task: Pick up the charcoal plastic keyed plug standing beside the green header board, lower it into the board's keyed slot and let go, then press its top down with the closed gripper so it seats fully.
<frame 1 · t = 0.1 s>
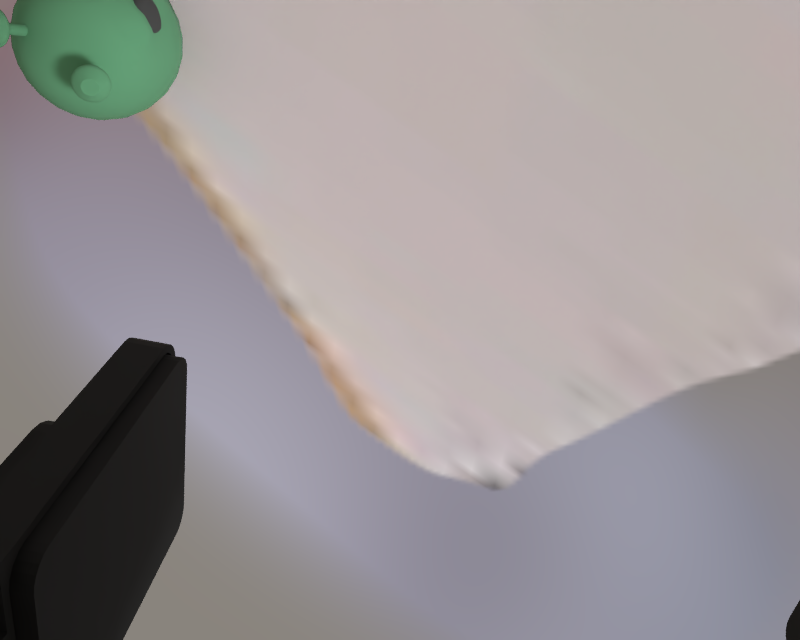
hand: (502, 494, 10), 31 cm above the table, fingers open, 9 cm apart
alien toy: (142, 23, 38), on the table
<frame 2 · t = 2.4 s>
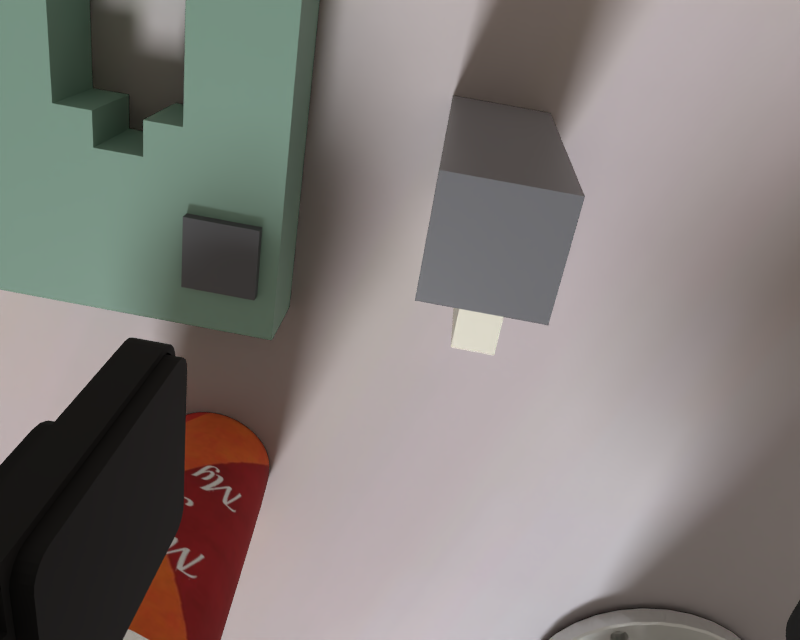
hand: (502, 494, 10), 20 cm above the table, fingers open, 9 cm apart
paper cup: (213, 457, 36), on the table
keyed plug: (491, 152, 28), on the table
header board: (151, 90, 28), on the table
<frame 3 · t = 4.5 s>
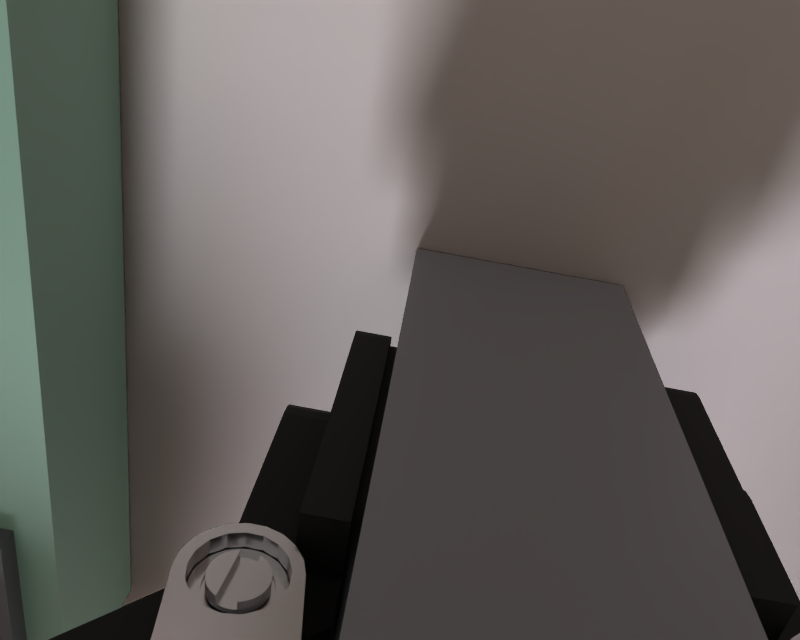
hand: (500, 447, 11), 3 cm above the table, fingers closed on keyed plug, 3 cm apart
keyed plug: (497, 355, 14), on the table, touching gripper
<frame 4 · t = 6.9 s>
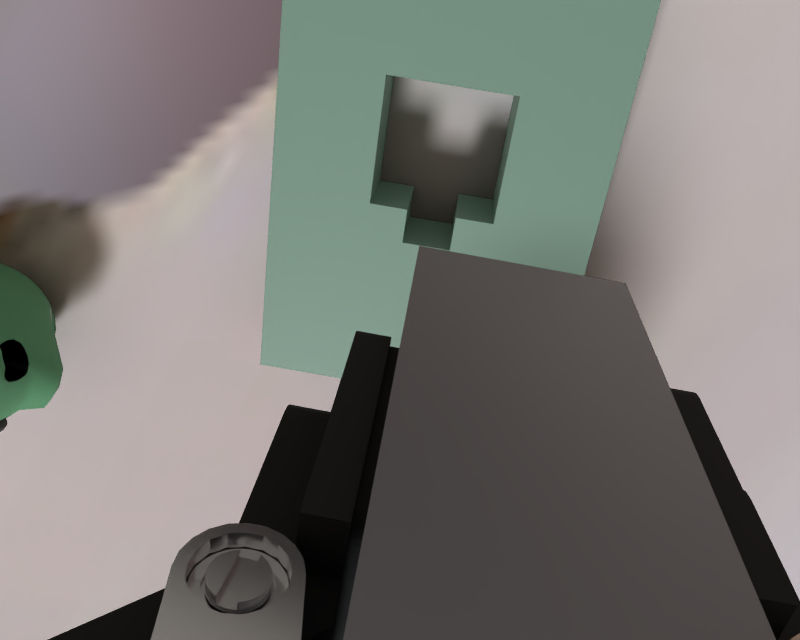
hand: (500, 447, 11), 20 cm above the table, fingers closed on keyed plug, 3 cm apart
alien toy: (25, 303, 34), on the table
keyed plug: (499, 353, 14), point 17 cm above the table, touching gripper
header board: (437, 182, 30), on the table
when the fingers open (4 cm above the table, at t = 9.6 s): keyed plug drops 1 cm, resting in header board.
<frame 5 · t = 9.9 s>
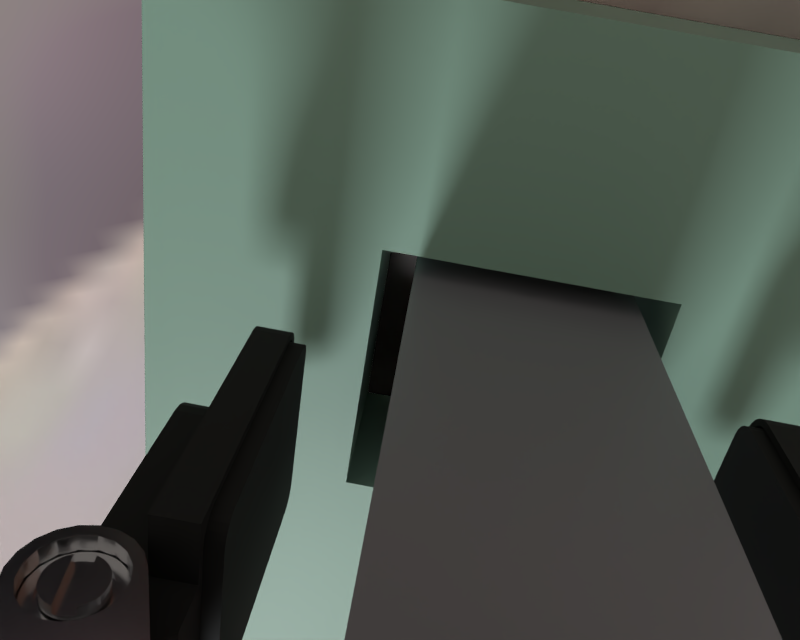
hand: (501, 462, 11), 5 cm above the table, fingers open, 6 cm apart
keyed plug: (498, 312, 15), resting in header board
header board: (475, 399, 16), on the table
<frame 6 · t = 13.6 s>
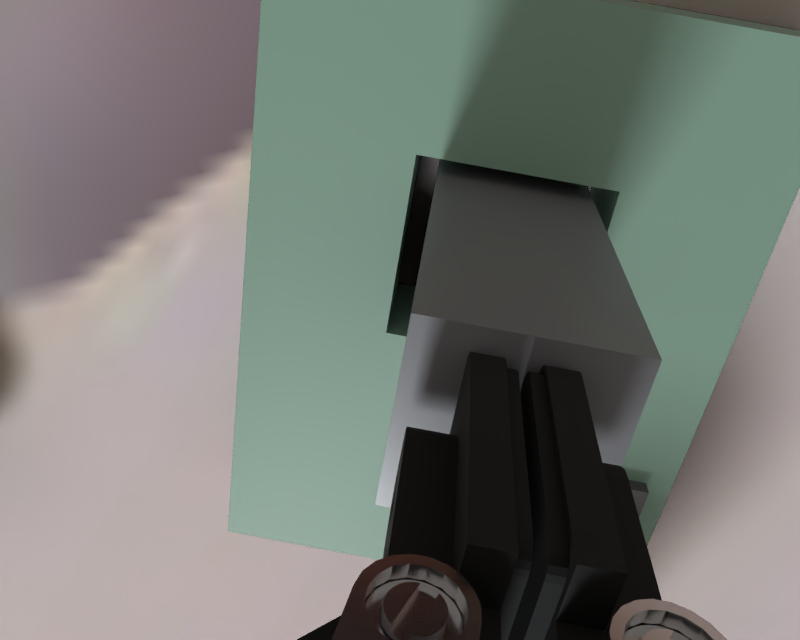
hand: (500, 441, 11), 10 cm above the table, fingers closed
keyed plug: (495, 218, 20), resting in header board, touching gripper
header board: (478, 288, 21), on the table
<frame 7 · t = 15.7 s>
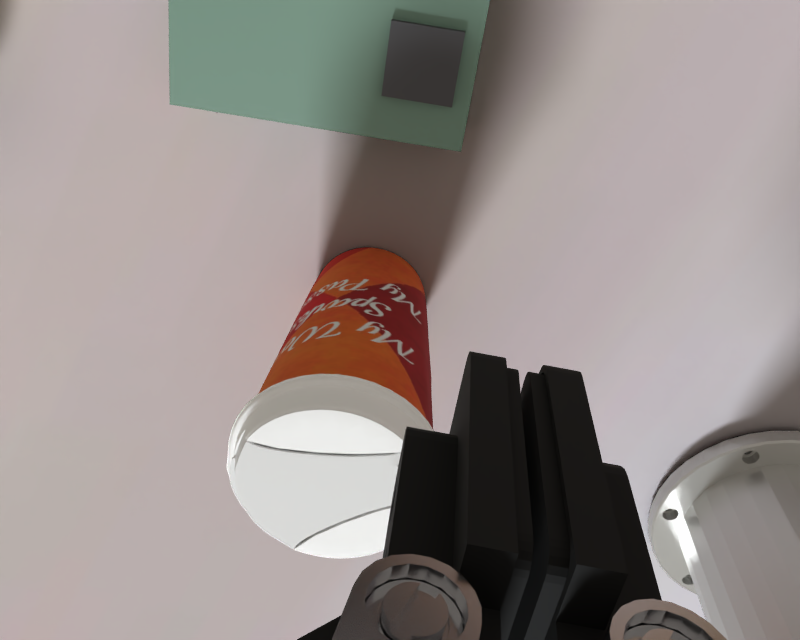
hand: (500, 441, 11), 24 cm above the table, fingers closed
paper cup: (369, 295, 37), on the table
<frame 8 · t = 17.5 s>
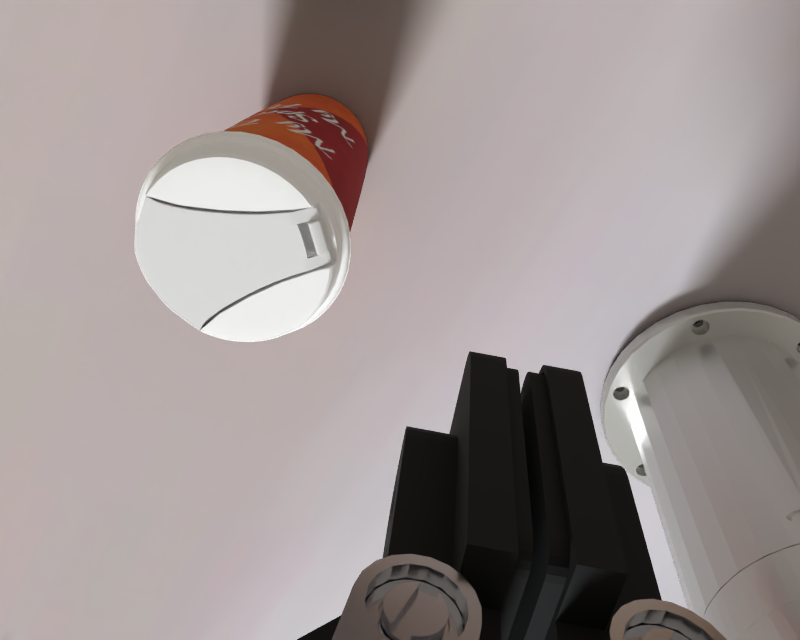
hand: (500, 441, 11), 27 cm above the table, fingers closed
paper cup: (313, 148, 37), on the table
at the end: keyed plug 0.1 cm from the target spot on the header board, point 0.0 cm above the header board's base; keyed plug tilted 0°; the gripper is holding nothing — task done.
